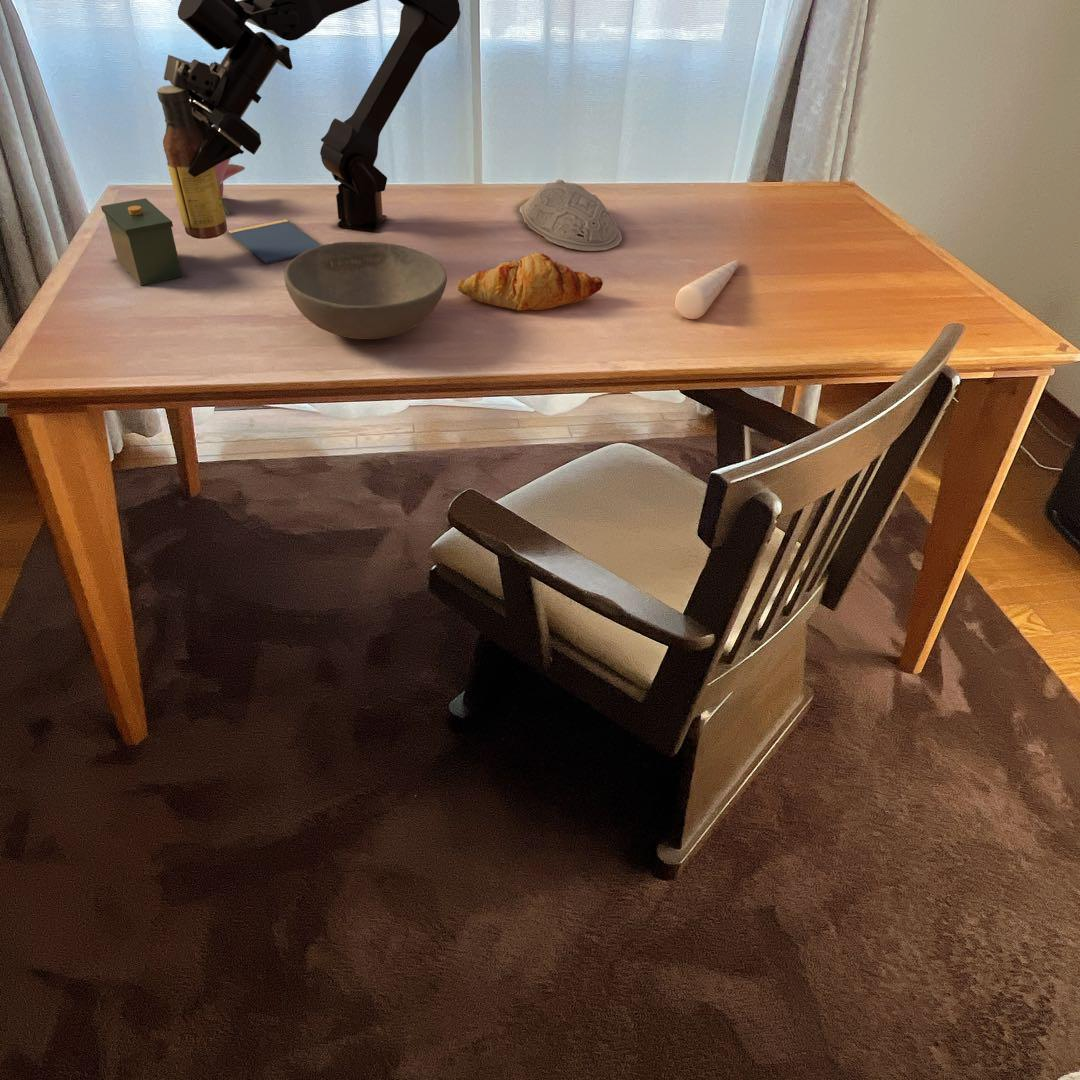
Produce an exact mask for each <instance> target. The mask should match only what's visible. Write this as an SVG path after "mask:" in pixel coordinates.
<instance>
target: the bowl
mask: <svg viewBox="0 0 1080 1080" xmlns="http://www.w3.org/2000/svg"><path fill="white" fill-rule="evenodd" d="M320 245H321V244H320ZM283 275H284V276H283V280H284V284H285V288H286V290H287V293H288V295H289V296H290V298H291V300H292V302H293V303H294V305H295V306H296V308H297V309H298V310H299V312H300V313H301V314H302V315H303V316H304V318H306V319H307V320H308V321H309V322H310V323H312V324H313V325H314V326H316V327H317V328H320V329H321V330H324V331H326V332H328V333H330V334H334V335H336V336H340V337H343V338H349V339H356V340H377V339H386V338H391V337H396V336H399V335H402V334H403V333H406V332H408V331H410V330H412V329H413V328H415V327H416V326H418V325H419V324H421V323H422V322H424V321H425V320H426V319H427V318H428V317H429V316H430V315H431V314H432V313H433V312H434V311H435V309H436V308H437V306H438V305H439V303H440V301H441V299H442V297H443V296H444V293H445V290H446V287H447V283H448V273H447V271H446V269H445V267H444V265H443V264H442V263H441V262H440V261H438V260H437V259H436V258H434V257H433V256H431V255H429V254H427V253H424V252H422V251H420V250H416V249H414V248H411V247H407V246H405V245H399V244H395V243H387V242H378V241H340V242H339V241H337V242H333V243H327V244H322V245H321V246H318V247H315V248H313V249H310V250H307V251H305V252H303V253H301V254H300V255H298V256H297V257H294V258H292V260H291V261H289V262H288V264H287V265H286V266H285V270H284V273H283Z"/></svg>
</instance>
